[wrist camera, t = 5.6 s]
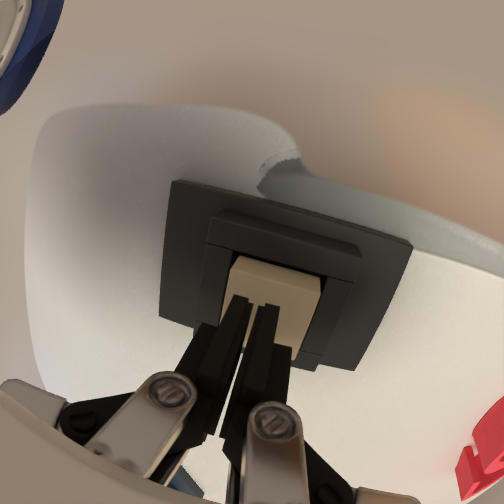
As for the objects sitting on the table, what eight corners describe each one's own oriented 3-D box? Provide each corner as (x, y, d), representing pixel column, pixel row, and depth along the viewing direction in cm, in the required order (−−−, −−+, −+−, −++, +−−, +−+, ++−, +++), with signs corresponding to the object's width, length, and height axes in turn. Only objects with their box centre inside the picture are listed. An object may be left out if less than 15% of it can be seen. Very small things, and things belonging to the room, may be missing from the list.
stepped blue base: (134, 474, 31) (127, 488, 28) (102, 439, 28) (92, 454, 25) (204, 493, 28) (198, 509, 25) (178, 461, 25) (169, 481, 22)
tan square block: (225, 320, 14) (216, 339, 12) (239, 254, 12) (230, 268, 11) (296, 340, 13) (294, 361, 12) (320, 276, 12) (321, 293, 11)
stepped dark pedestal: (164, 309, 17) (145, 331, 15) (178, 178, 14) (154, 185, 12) (353, 362, 16) (356, 391, 14) (409, 240, 13) (426, 259, 11)
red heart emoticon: (481, 464, 19) (488, 492, 14) (424, 475, 20) (429, 509, 15) (550, 387, 13) (567, 417, 9) (500, 394, 15) (519, 434, 10)
